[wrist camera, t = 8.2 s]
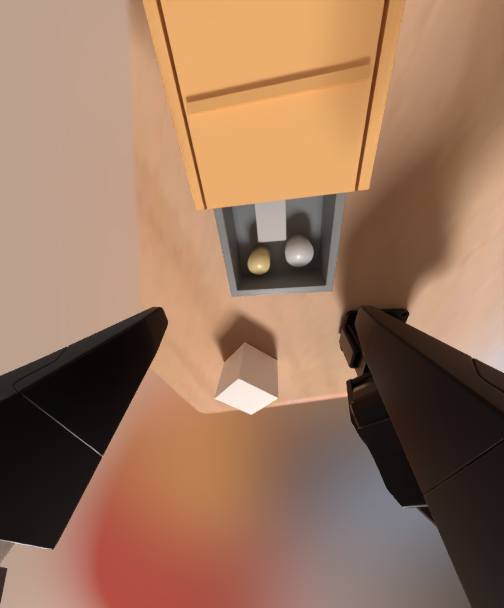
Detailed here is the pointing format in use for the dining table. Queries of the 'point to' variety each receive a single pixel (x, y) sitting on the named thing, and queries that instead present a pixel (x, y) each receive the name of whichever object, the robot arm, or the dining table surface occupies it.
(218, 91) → the lid
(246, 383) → the white cube
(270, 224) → the tub
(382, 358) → the robot arm
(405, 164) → the dining table surface
